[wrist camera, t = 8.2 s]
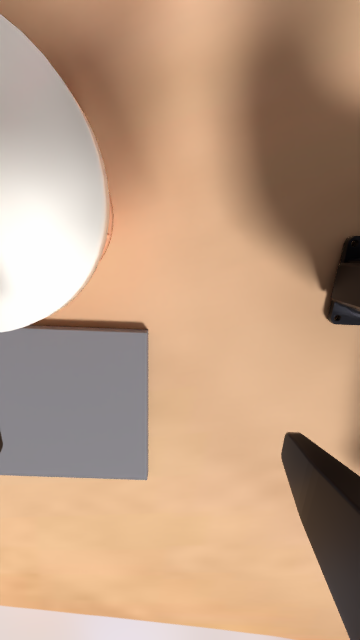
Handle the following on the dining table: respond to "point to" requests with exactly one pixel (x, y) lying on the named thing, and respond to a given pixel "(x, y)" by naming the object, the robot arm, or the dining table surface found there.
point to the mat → (74, 402)
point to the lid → (45, 187)
